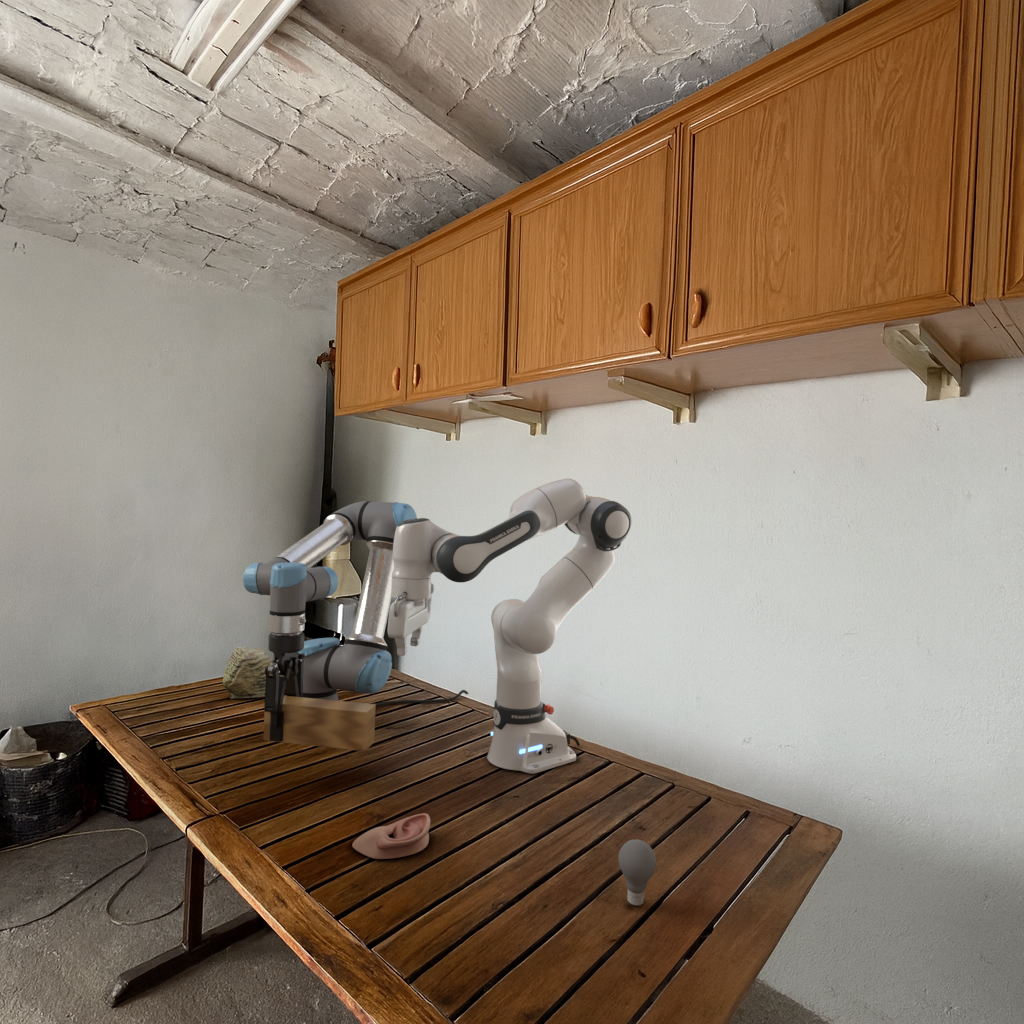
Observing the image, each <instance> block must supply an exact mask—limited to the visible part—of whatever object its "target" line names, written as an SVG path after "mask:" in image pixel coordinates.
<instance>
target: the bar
mask: <svg viewBox="0 0 1024 1024" xmlns="http://www.w3.org/2000/svg"><path fill="white" fill-rule="evenodd" d="M376 704H377V703H367V702H356V701H355V702H354V701H344V700H339V701H335V700H325V699H314V698H304V697H293V696H287V695H284V698H283V705H282V710H281V711H284V721H283V741H281V742H279V741H273V742H275V743H282V744H283V743H285V744H292V745H293V744H294V745H304V746H311V747H322V748H331V749H341V750H350V751H357V752H359V751H360V752H366V751H367V750H368V749H370V747H371V746H372V745H373V744H374V743H375V731H376V730H375V729H376V708H377V706H376ZM263 711H264V710H263ZM263 714H264V715H263V741H266V742H267V741H268V742H271V741H270V715H271V713H270V712H265V711H264V713H263Z"/></svg>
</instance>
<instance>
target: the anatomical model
mask: <svg viewBox="0 0 1024 1024" xmlns="http://www.w3.org/2000/svg"><path fill="white" fill-rule="evenodd" d="M430 827H431V817H430V815H429V814H428V813H425V812H423V813H422V812H421V813H417V814H414V815H410V816H407V817H404V818H402V819H399V820H397V821H395V822H393V823H391V824H387V825H382V826H377V827H374V828H372V829H369V830H367V831H366V832H364V833H362V834H361V835H359V836H358V837H357V838H355V840H354V841H353V842H352V844H351V845H352V848H353V849H354V850H355V851H356V852H358V853H360V854H362V855H364V856H366V857H368V858H371V859H374V860H387V859H397V858H402V857H407V856H412V855H414V854H417V853H419V852H422V851H423V850H424V849H425V848H426V847H428V845H429V841H430V835H429V830H430Z"/></svg>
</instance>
